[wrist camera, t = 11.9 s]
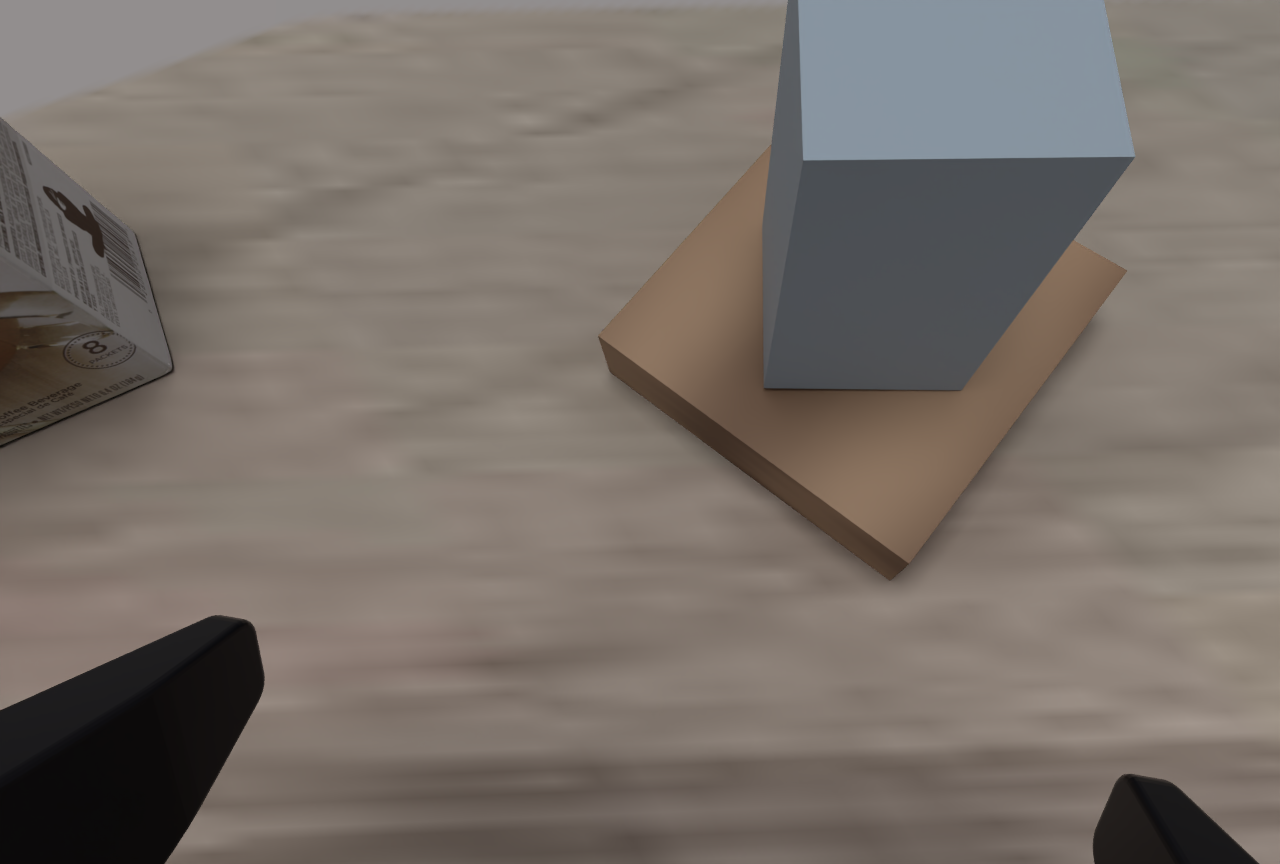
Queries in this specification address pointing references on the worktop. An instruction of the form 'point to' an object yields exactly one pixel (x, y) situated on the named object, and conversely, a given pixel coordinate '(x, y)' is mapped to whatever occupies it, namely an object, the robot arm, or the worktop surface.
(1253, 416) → the worktop surface
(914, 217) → the slate block
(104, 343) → the coffee box
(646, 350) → the walnut block
